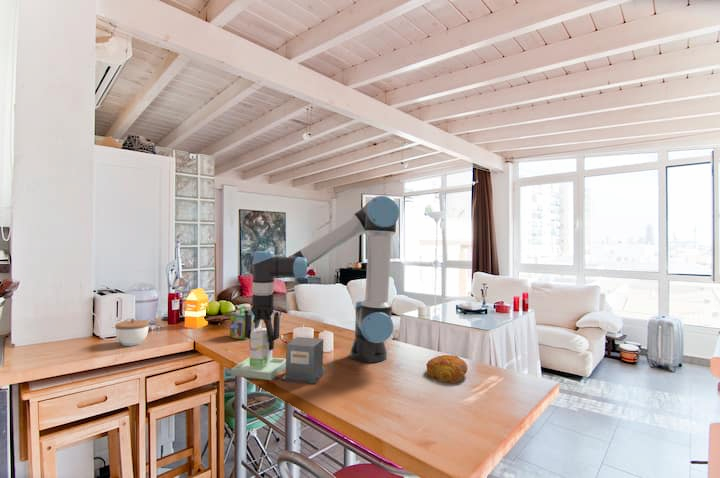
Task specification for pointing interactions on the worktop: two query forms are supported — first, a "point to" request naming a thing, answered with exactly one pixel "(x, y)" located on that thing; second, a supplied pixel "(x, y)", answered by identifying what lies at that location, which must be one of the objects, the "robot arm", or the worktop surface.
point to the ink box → (258, 346)
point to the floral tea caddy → (238, 324)
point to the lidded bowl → (132, 332)
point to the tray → (259, 369)
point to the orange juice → (196, 309)
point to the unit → (304, 360)
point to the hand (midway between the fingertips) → (261, 357)
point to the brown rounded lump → (446, 368)
